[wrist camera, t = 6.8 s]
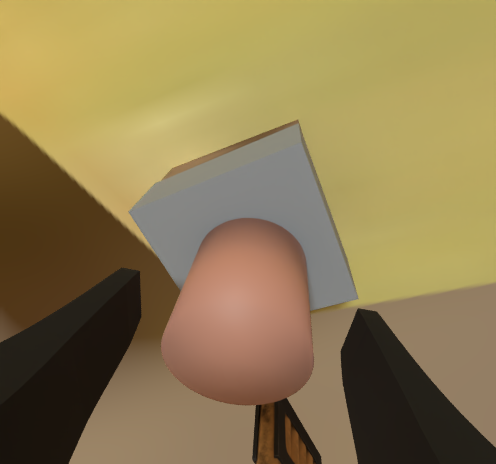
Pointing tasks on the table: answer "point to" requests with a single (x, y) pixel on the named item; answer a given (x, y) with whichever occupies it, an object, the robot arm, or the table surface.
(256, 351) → the pink cylinder
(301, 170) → the tower top
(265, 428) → the ammunition clip
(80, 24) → the table surface
